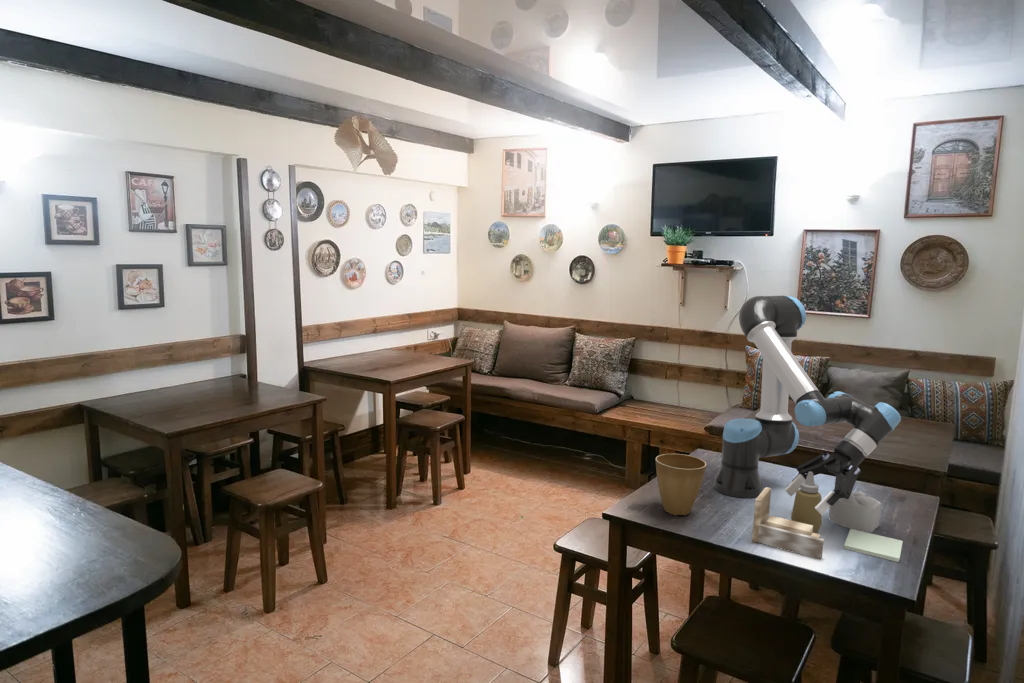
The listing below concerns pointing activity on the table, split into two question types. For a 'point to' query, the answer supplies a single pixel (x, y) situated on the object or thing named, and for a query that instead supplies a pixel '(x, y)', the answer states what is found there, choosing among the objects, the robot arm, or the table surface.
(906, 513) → the table surface
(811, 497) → the squeeze bottle
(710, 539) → the table surface
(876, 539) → the sage mat
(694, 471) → the plant pot
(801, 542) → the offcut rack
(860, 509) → the lumpy-topped squat cylinder
